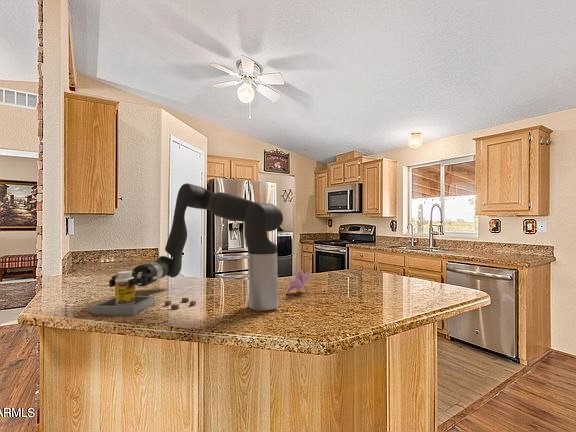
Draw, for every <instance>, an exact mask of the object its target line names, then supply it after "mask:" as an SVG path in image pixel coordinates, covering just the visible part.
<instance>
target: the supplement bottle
mask: <svg viewBox="0 0 576 432" xmlns="http://www.w3.org/2000/svg"><path fill="white" fill-rule="evenodd" d="M132 271H133V270H122V271H118V272H117V274H118V278H117V279H116V280H115V286H114V287H115V288H114V294H115V296H114V297H115V303H116V305H118V306H126V305H130V304H133V303H134V302H135V296H136V285H134V286H132V287H129V286H128V281H129V280H130V279H132V278H134V277H131V276H132Z"/></svg>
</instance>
